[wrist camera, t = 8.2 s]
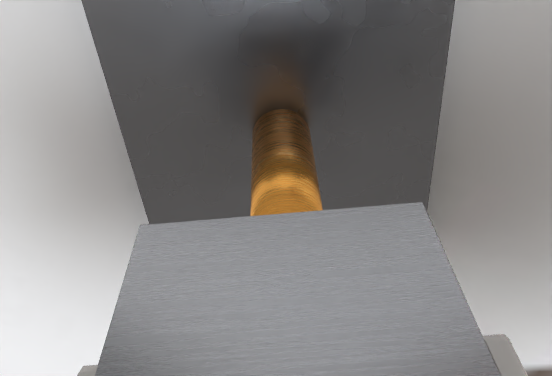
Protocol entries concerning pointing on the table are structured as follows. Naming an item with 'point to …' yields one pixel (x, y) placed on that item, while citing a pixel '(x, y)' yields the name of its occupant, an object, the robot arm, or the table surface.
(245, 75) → the base
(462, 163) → the table surface
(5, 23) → the table surface
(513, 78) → the table surface
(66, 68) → the table surface
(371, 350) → the hollow square tube
